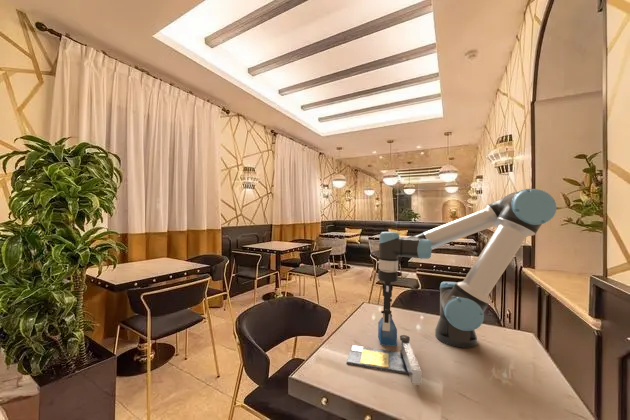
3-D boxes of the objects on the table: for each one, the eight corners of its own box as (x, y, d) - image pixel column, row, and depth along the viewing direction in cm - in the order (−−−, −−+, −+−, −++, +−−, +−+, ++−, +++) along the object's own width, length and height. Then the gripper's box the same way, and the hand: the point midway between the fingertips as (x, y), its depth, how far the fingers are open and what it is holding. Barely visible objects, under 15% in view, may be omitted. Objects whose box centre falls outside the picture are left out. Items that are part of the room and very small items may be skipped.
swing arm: (399, 348, 94) (399, 334, 94) (408, 349, 93) (408, 335, 93) (410, 384, 74) (411, 366, 74) (422, 385, 73) (422, 367, 73)
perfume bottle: (393, 338, 107) (393, 308, 107) (396, 345, 101) (397, 314, 101) (378, 337, 107) (378, 308, 108) (380, 344, 101) (380, 313, 102)
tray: (413, 356, 93) (413, 350, 93) (416, 376, 81) (416, 369, 81) (351, 346, 99) (351, 341, 99) (346, 363, 87) (346, 357, 87)
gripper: (379, 264, 118) (377, 311, 117) (377, 276, 94) (375, 335, 93) (396, 265, 116) (395, 313, 115) (398, 278, 92) (397, 338, 91)
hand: (386, 323), depth 104 cm, fingers open, 13 cm apart
